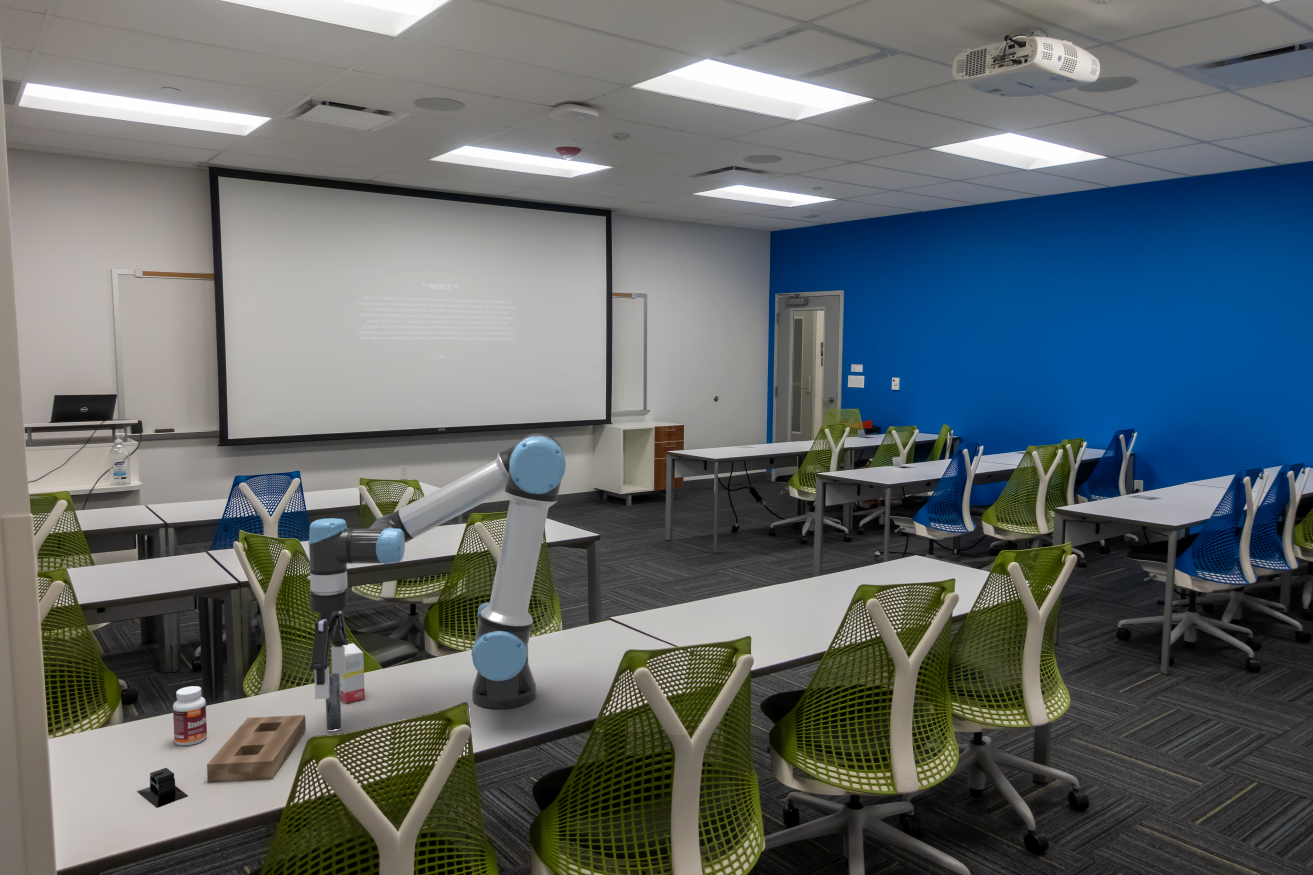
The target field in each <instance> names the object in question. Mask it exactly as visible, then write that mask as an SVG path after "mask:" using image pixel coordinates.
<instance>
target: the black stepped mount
mask: <svg viewBox="0 0 1313 875" xmlns="http://www.w3.org/2000/svg"><path fill="white" fill-rule="evenodd" d="M175 778H176V777H175V773H174V772H173V771H171V770H170V769H169V768H168V767H164V768H161V769H158V770H156V771H155V770H154V771H152V772H149V787H145V788H142V789H139V790H137V791H136V793H137V794H139V796H141V797H143V799H145V800H146V801H148V802H149V803H150V804H151V805H152V806H154V808H156V809H158V808H162V807H164V806H166V805H169V804H172V803H174V802H177V801H180V800H182V799H185V798H188V797H189V795H188V794H187V793H186V792H184V791H183V790H182V789H180V788H179V787H178V786H177V785H176V779H175Z"/></svg>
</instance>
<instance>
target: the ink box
mask: <svg viewBox="0 0 1313 875" xmlns="http://www.w3.org/2000/svg"><path fill="white" fill-rule="evenodd" d="M343 646H345V675H340V700H341V699H342V700H341V701H342V702H345V703H344V704H349V702H350V703H354V702H357V701H358V700H359V701H362V700H365V699H366V698H365V697H366V696H365V695H366V693H365V692H366V691H365V669H364V668H365V665H364V664H365V663H364V661H365V660H364V652H363V651H362V650H361V649H360V648H359V647H358V646H357V645H356V644H355V643H348V645H343Z"/></svg>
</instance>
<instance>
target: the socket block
mask: <svg viewBox="0 0 1313 875" xmlns="http://www.w3.org/2000/svg"><path fill="white" fill-rule="evenodd" d="M306 722H307V721H306V714H302V715H301V714H300V715H298V714H297V715H282V716H281V715H280V716H278V715H275V716H257V717H246V719H245V720H244V722H243V723H242V724H241V725H240V726H239V727H238V728H237V730H236V731H235V732H234V733H233V734H232V735H231V736H230V737H229V739H228V740H227V741H226V742H225V743H224V744H223V746H221V747H220V749H219V750H218V751H217V752H216V753H215V755H213V757H212V758H211V759H210V760H209V762H208V763H207V764H206V774H207V776H206V777H207V783H217V782H234V781H250V780H251V781H254V780H268V779H270V780H272V779H274V778H275V777H276V774H278V772H279V770H280V769H281V768H282V766H283V764H284V763H285V762H286V761H287V759H288V757H289V756H290V754H291V753H292V752H293V750H294V748H295V747H296V745H297V744H298V742H300V740H301V738H302V737H303V735H305V733H306V731H307V727H306ZM305 730H306V731H305ZM304 732H305V733H304Z"/></svg>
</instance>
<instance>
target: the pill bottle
mask: <svg viewBox="0 0 1313 875" xmlns="http://www.w3.org/2000/svg"><path fill="white" fill-rule="evenodd" d="M202 694H203V693H202V687H200V686H198V685H197V686H196V685H195V686H194V685H193V686H192V685H191V686H185V687H182V688H180V689H178V690H177V691H176V696H175V697H176V699H177V700H176V701H175V702H174V703H173V705H172V714H173V715H172V716H173V739H174V743H175V745H177V746H182V747H183V746H193V745H196V744H199V743H202V742H203V741H205V739H206V738H207V736H208V727H207V724H208V723H207V702H206V699H205V698H204V697H203V696H202Z"/></svg>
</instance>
